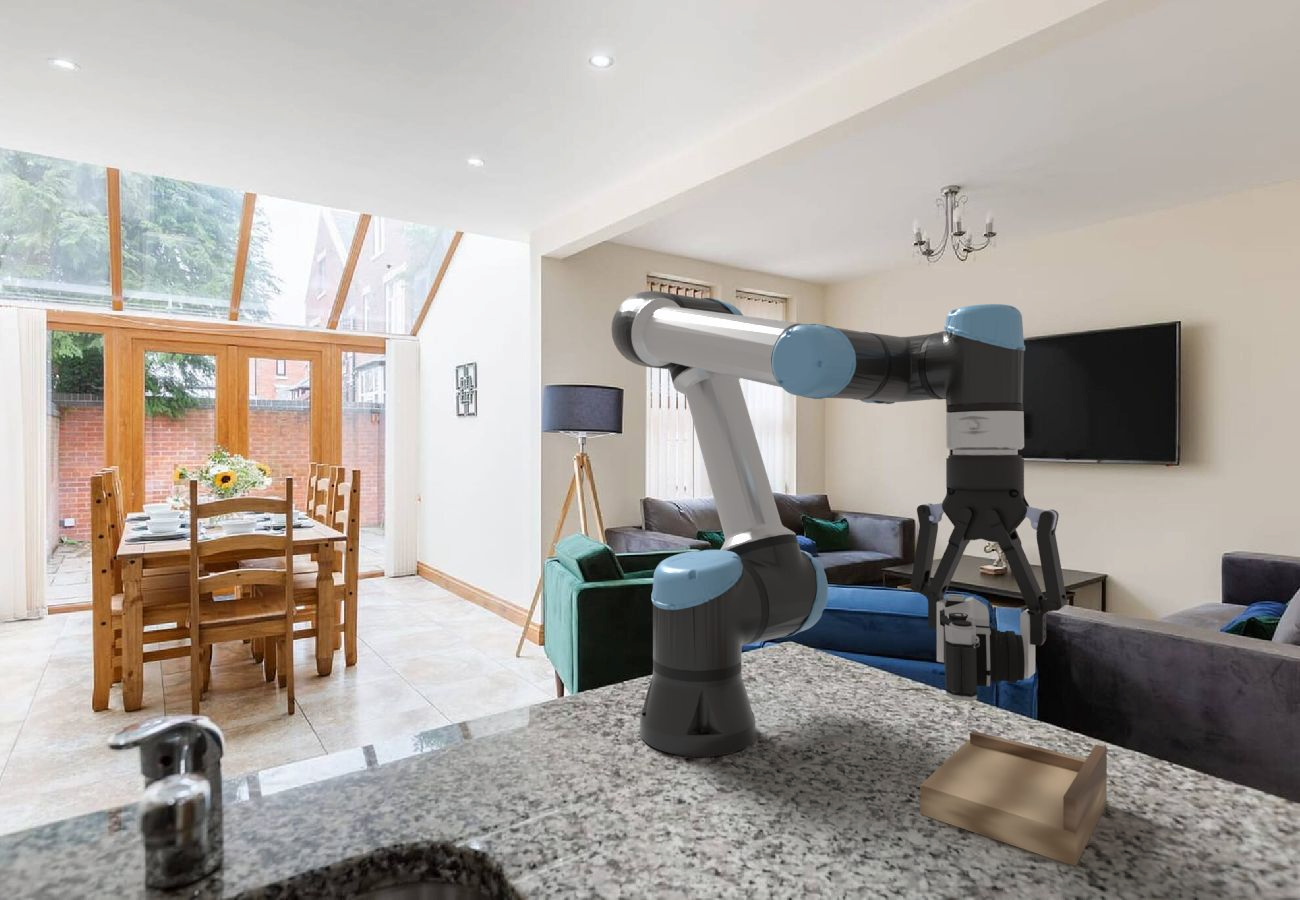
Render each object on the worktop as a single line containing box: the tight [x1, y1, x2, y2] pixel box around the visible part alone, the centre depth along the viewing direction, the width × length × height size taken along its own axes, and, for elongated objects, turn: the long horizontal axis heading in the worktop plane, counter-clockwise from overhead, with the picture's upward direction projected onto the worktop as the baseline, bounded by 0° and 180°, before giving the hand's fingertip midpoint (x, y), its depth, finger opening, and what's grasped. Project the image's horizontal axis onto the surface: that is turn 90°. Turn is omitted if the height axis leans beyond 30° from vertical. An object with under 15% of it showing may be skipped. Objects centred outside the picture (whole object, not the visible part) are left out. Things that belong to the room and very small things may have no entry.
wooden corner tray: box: [919, 730, 1108, 867], centre depth 75 cm, size 14×15×6 cm
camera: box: [940, 593, 1025, 702], centre depth 73 cm, size 13×8×9 cm, turn 161°
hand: (984, 666), depth 77 cm, fingers closed on camera, 8 cm apart
